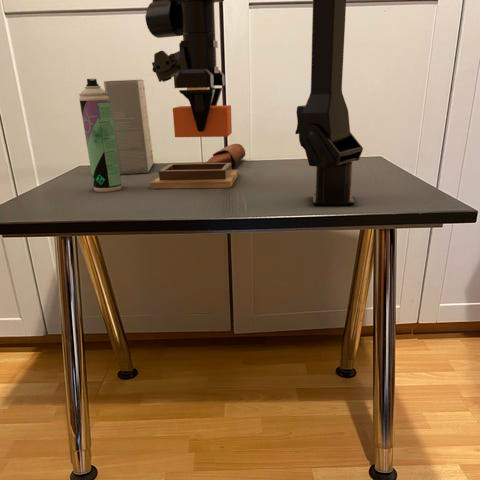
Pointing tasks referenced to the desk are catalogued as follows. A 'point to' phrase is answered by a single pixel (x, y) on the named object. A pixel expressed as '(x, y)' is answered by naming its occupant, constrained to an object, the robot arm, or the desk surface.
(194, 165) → the wooden tray
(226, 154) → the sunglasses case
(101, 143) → the spray can
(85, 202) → the desk surface
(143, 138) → the hard drive box
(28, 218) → the desk surface
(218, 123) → the orange rectangular block
